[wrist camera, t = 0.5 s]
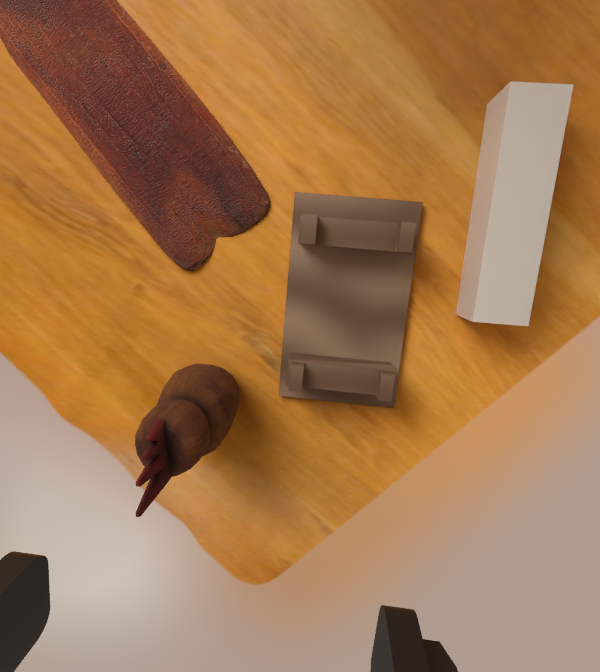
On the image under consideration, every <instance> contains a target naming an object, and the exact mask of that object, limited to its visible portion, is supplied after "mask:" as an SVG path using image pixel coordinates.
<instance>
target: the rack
mask: <svg viewBox="0 0 600 672" xmlns="http://www.w3.org/2000/svg"><path fill="white" fill-rule="evenodd" d="M422 203H423V202H412V201H400V200H387V199H375V198H362V197H350V196H337V195H325V194H312V193H300V192H295V198H294V211H293V224H292V236H291V249H290V261H289V274H288V286H287V299H286V311H285V324H284V336H283V349H282V362H281V374H280V387H279V396H286V397H296V398H305V399H314V400H324V401H333V402H342V403H352V404H361V405H371V406H380V407H389V408H394V403H395V396H396V388H397V381H398V374H399V367H400V360H401V353H402V346H403V339H404V332H405V324H406V317H407V310H408V303H409V296H410V289H411V282H412V275H413V268H414V260H415V253H416V246H417V239H418V232H419V225H420V218H421V211H422Z"/></svg>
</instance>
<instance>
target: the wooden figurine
mask: <svg viewBox="0 0 600 672" xmlns="http://www.w3.org/2000/svg"><path fill="white" fill-rule="evenodd" d="M238 402H239V389H238V385H237V384H236V382H235V380H234V378H233V376H232V375H231V374H229V373H228V372H227V371H226V370H224V369H223V368H220V367H217V366H214V365H206V364H193V365H190V366H188V367H185V368H183V369H180V370H178V371H177V372H175V373H174V374H173V375H172V377H171V378H170V379H169V381H168V382H167V384H166V386H165V387H164V389H163V390H162V393H161V396H160V398H159V401H158V403H157V406H155V407H154V408H153V409H152V410H151V411H150V412H149V413H148V414H147V415H146V416H145V417H144V419H143V420H142V422H141V424H140V426H139V428H138V430H137V432H136V438H135V446H136V450H137V455H138V457H139V458H140V460H141V462H142V464H143V465H144V466H145V468H144V469H143V471H142V473H141V475H140V476H139V478H138V480H137V481H136V486H141V485H143V484H144V483H145V482H147V481H148V480H149V479H150V481H149V483H148V485H147V488H146V490H145V492H144V495H143V497H142V499H141V502H140V504H139V506H138V509H137V511H136V517H140V516H141V515H142V514H143V513H144V511H145V510H146V509H147V507H148V506H149V505H150V504H151V503H152V501H153V500H154V499H155V498H156V496H157V495H158V494H159V493H160V491H161V490H162V489H163V488H164V486H165V485H166V484H167V482H168V481H169V480H170V478H171V477H172V476H177V475H179V474H181V473H183V472H186V471H187V470H189V469H191V468H192V467H193V466H194V465H195V464H196V463H197V462H198V461H199V460H200V458H201V457H202V456H204V455H206V454H208V453H210V452H212V451H214V450H215V449H216V448H217V447H218V446H219V445H220V443H221V442H222V440H223V439H224V437H225V436H226V434H227V433H228V431H229V429H230V427H231V424H232V422H233V419H234V417H235V414H236V410H237V406H238Z"/></svg>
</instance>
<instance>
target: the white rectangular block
mask: <svg viewBox="0 0 600 672" xmlns="http://www.w3.org/2000/svg"><path fill="white" fill-rule="evenodd" d="M573 85H574V84H554V83H533V82H512V81H511V82H510V83H508V84H507V85H506V86H505V87H504V88H503V89H502V90H501V91H500V92H499V93H498V94H497V95H496V96H495V97H494V98H493V99H492V100H491V101H490V102H489V103H488V104H487V108H486V115H485V122H484V128H483V135H482V142H481V148H480V155H479V162H478V168H477V175H476V182H475V189H474V195H473V202H472V209H471V215H470V222H469V229H468V235H467V242H466V249H465V256H464V262H463V269H462V276H461V282H460V289H459V296H458V302H457V309H456V315H458V316H460V317H463V318H465V319H467V320H469V321H472V322H481V323H493V324H506V325H519V326H528V325H529V320H530V315H531V309H532V304H533V299H534V293H535V288H536V283H537V277H538V272H539V267H540V261H541V256H542V251H543V245H544V240H545V235H546V229H547V224H548V219H549V213H550V208H551V202H552V197H553V192H554V186H555V181H556V176H557V170H558V165H559V160H560V154H561V149H562V144H563V138H564V133H565V128H566V122H567V117H568V112H569V106H570V101H571V95H572V90H573Z"/></svg>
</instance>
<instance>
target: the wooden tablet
mask: <svg viewBox="0 0 600 672" xmlns="http://www.w3.org/2000/svg"><path fill="white" fill-rule="evenodd" d="M0 37H1V40H2V42H3V43H4V45H5V47H6V49H7V51H8V52H9V54H10V56H11V57H12V59H13V60H14V61H15V63H16V64H17V66H18V67H19V68H20V70H21V71H22V72H23V73H24V74H25V75H26V77H27V78H28V79H29V81H30V82H31V83H32V84H33V85H34V86H35V88H36V89H37V90H38V92H39V93H40V94H41V96H42V97H43V98H44V99H45V100H46V102H47V103H48V104H49V106H50V107H51V108H52V110H53V111H54V112H55V114H56V115H57V116H58V117H59V118H60V120H61V121H62V123H63V124H64V125H65V126H66V128H67V129H68V130H69V131H70V133H71V134H72V135H73V137H74V138H75V140H76V141H77V142H78V144H79V145H80V146H81V148H82V149H83V150H84V152H85V153H86V154H87V155H88V157H89V158H90V159H91V161H92V162H93V163H94V164H95V166H96V167H97V169H98V170H99V171H100V172H101V174H102V175H103V176H104V178H105V179H106V180H107V182H108V183H109V184H110V186H111V187H112V188H113V189H114V191H115V192H116V193H117V194H118V195H119V197H120V198H121V199H122V201H123V202H124V203H125V205H126V206H127V207H128V208H129V209H130V210H131V212H132V213H133V214H134V215H135V217H136V218H137V219H138V220H139V221H140V223H141V224H142V225H143V227H144V228H145V229H146V230H147V232H148V233H149V234H150V235H151V236H152V238H153V239H154V241H155V242H156V243H157V244H158V245H159V246H160V247H161V249H162V250H163V251H164V252H165V253H166V254H167V255H168V256H169V257H170V258H171V259H172V260H173V261H174V262H175V263H176V264H177V265H178V266H180V267H181V268H183V269H185V270H191V271H193V270H195V269H197V268H198V267H199V266H200V265H201V264H202V263H203V262H204V261H205V260H206V259H207V258H208V257H209V256H210V255H211V253H212V252H213V251H214V247H215V243H216V239H217V238H218V237H232V236H234V235H238V234H240V233H242V232H244V231H246V230H247V229H248V228H250V227H251V226H253V225H254V224H255V223H257V222H258V221H259V220H260V219H261V218H262V217H263V216H264V215H266V213H267V212H268V209H269V203H270V202H269V198H268V194H267V193H266V191H265V189H264V188H263V186H262V185H261V183H260V181H259V180H258V179H257V177H256V175H255V174H254V172H253V170H252V169H251V167H250V166H249V164H248V163H247V161H246V160H245V158H244V157H243V156H242V154H241V153H240V152H239V150H238V149H237V147H236V146H235V145H234V144H233V142H232V140H231V139H230V137H229V136H228V135H227V134H226V133H225V131H224V130H223V128H222V127H221V126H220V124H219V123H218V122H217V121H216V119H215V118H214V116H213V115H212V114H211V113H210V112H209V111H208V109H207V108H206V106H205V105H204V104H203V103H202V101H201V100H200V99H199V98H198V96H197V95H196V94H195V93H194V91H193V90H192V89H191V88H190V86H189V85H188V84H187V83H186V81H185V80H184V79H183V78H182V77H181V76H180V74H179V73H178V72H177V71H176V70H175V69H174V68H173V66H172V65H171V64H170V63H169V61H168V60H167V59H166V58H165V57H164V56H163V55H162V53H161V52H160V51H159V49H158V48H157V47H156V46H155V45H154V43H153V42H152V41H151V40H150V39H149V38H148V36H147V35H146V34H145V33H144V32H143V31H142V30H141V28H140V27H139V26H138V25H137V24H136V22H135V21H134V20H133V19H132V18H131V16H130V15H129V14H128V13H127V12H126V11H125V10H124V9H123V7H122V6H121V5H120V4H119V3H118V1H117V0H0Z"/></svg>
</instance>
